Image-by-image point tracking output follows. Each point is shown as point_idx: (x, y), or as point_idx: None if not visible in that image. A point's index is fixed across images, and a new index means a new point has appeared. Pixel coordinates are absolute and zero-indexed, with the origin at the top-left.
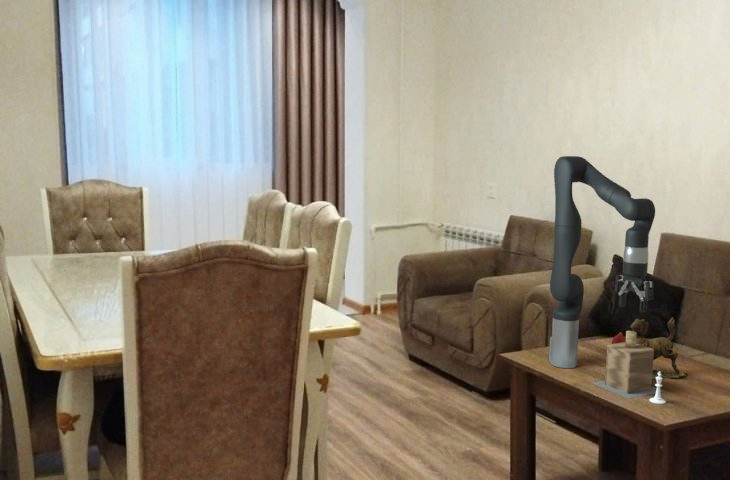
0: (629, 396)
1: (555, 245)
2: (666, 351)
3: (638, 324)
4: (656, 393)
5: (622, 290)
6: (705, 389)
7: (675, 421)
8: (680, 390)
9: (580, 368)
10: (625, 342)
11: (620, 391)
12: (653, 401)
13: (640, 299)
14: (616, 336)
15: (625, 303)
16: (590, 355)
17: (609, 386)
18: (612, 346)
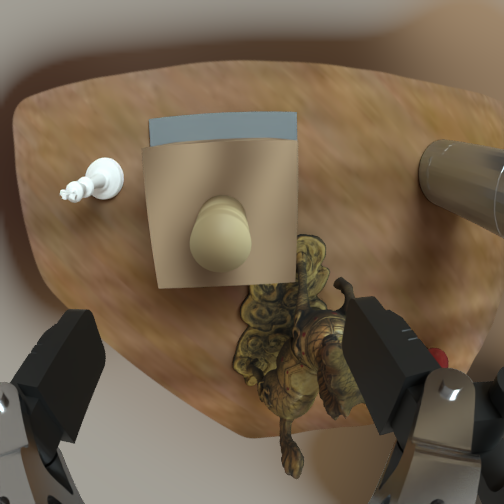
0: (157, 130)
1: None
2: (267, 383)
3: (331, 377)
4: (93, 176)
5: (429, 452)
6: (156, 350)
7: (14, 136)
8: (164, 300)
9: (408, 190)
10: (291, 251)
11: (201, 135)
12: (97, 161)
13: (17, 400)
14: (444, 367)
15: (353, 364)
16: (449, 286)
17: (249, 136)
18: (262, 140)
